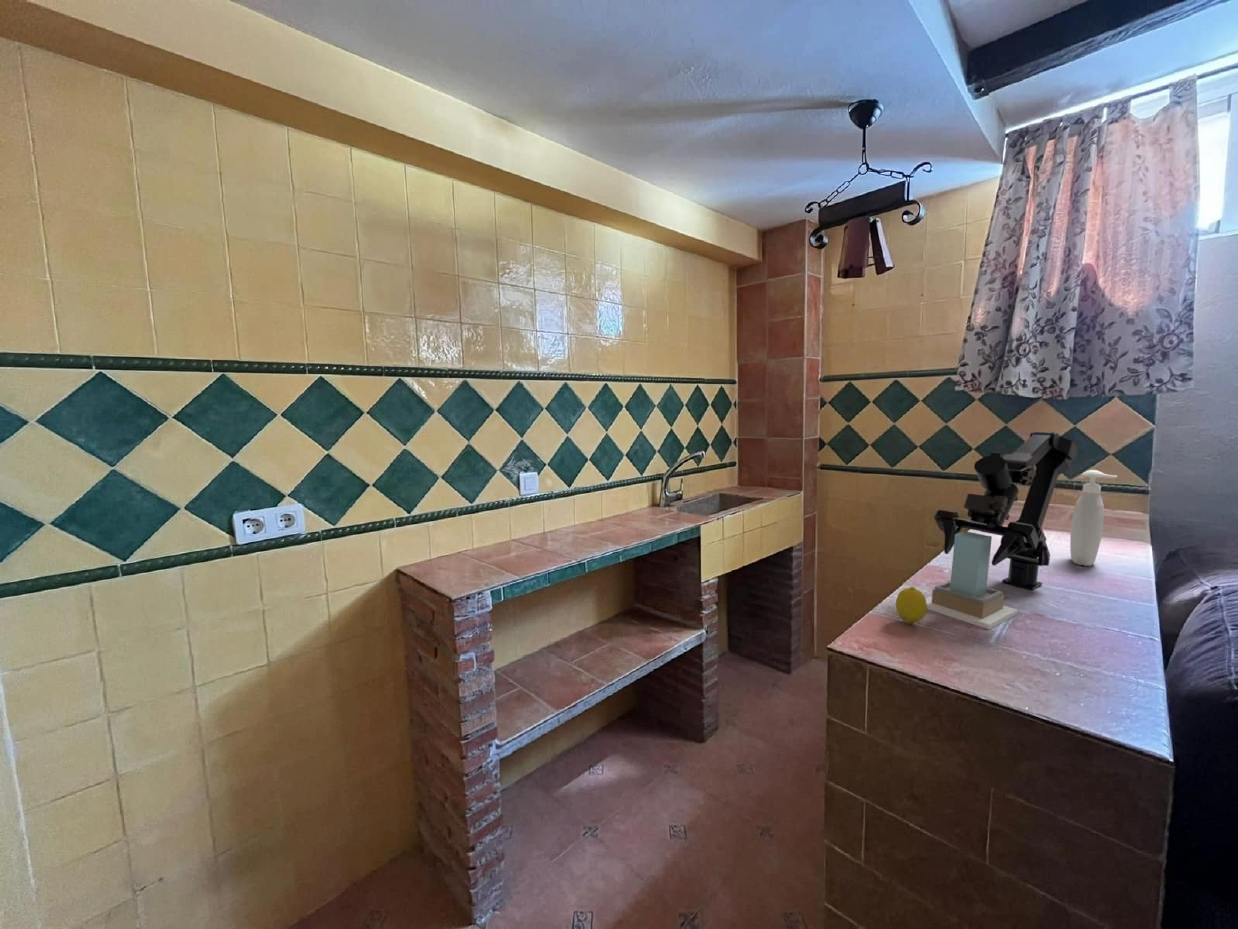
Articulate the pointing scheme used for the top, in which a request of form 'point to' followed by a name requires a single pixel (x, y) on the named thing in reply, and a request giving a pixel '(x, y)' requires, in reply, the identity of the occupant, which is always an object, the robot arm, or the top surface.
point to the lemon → (911, 605)
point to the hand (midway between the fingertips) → (968, 558)
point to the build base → (974, 619)
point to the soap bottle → (1088, 521)
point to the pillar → (970, 564)
